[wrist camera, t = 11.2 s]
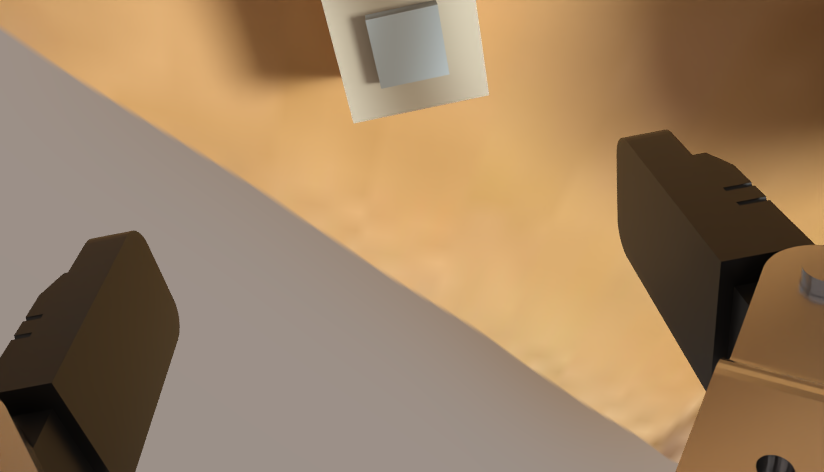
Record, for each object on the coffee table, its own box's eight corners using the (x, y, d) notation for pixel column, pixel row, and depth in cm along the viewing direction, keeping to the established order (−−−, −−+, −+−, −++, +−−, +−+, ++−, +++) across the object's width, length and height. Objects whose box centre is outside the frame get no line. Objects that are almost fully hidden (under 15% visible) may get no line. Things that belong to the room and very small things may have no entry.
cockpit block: (451, -76, 26) (471, -46, 22) (470, 50, 29) (491, 101, 24) (323, -48, 26) (316, -12, 22) (354, 75, 29) (353, 130, 25)
